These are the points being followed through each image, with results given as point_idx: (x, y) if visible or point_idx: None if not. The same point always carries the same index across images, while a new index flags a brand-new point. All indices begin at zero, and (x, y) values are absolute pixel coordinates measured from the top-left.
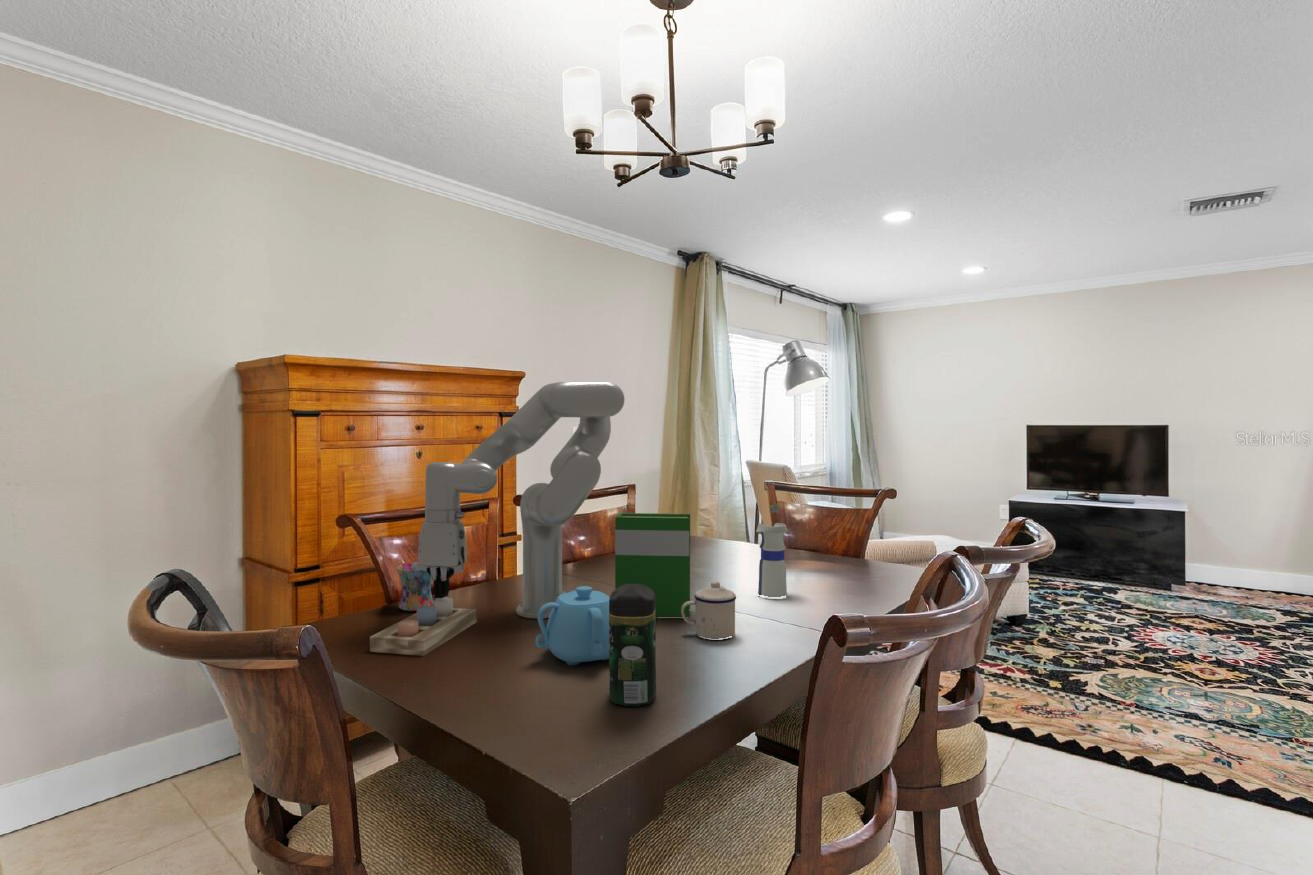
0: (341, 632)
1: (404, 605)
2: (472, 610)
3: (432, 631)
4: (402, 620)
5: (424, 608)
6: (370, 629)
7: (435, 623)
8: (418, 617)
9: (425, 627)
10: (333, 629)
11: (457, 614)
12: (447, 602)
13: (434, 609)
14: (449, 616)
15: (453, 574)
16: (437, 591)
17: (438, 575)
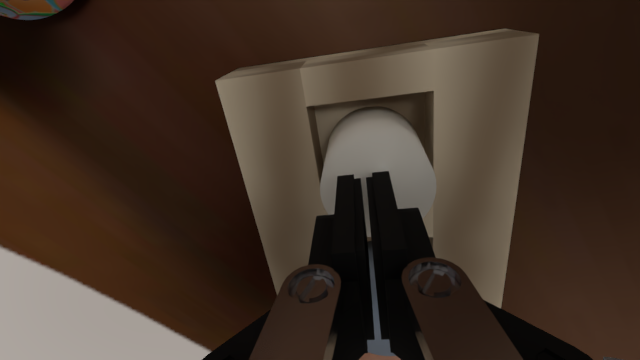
0: (102, 274)
1: (4, 12)
2: (521, 64)
3: None
4: (275, 282)
5: (377, 328)
6: (148, 235)
7: None
8: None
9: None
10: (54, 261)
11: (463, 158)
12: (424, 212)
13: None
14: (437, 195)
15: (519, 320)
16: (370, 280)
17: (348, 351)
